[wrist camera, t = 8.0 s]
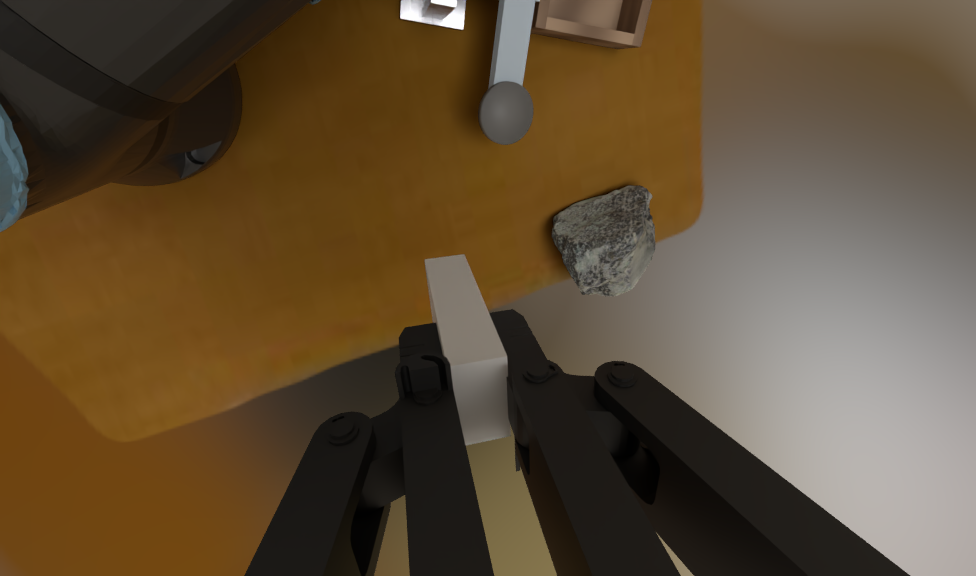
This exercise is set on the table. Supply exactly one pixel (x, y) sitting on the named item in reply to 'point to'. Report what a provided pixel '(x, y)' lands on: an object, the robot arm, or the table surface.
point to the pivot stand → (434, 12)
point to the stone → (607, 240)
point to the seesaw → (508, 75)
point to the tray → (593, 21)
